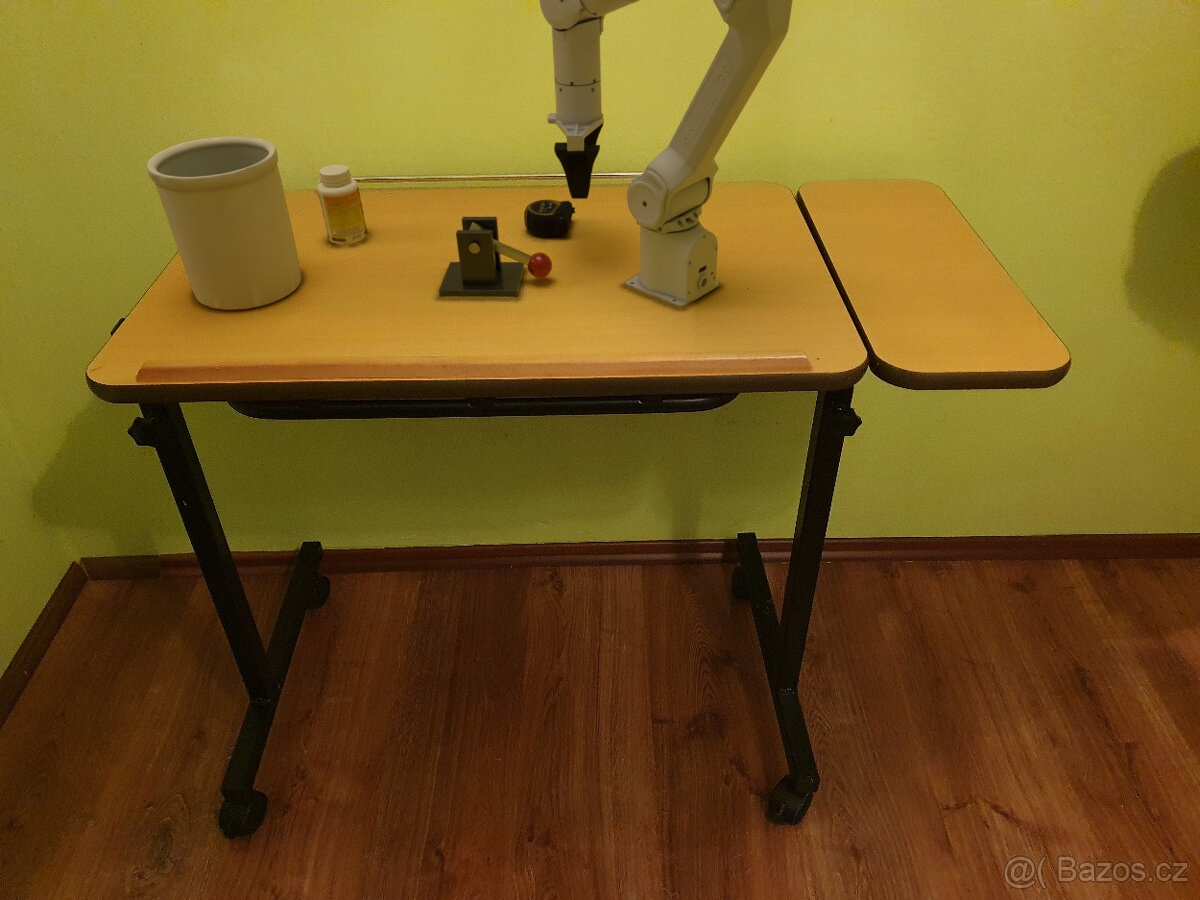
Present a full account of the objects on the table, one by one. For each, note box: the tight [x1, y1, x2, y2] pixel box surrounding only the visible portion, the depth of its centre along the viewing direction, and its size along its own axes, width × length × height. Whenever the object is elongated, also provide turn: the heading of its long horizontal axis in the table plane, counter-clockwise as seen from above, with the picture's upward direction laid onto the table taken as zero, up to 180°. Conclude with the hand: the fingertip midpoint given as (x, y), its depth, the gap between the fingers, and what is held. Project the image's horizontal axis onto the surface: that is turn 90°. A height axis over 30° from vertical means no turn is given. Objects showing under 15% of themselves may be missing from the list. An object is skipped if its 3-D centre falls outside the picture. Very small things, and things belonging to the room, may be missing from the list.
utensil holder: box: [146, 135, 302, 311], centre depth 114 cm, size 15×15×18 cm
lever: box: [469, 222, 553, 279], centre depth 115 cm, size 12×3×3 cm, turn 88°
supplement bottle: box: [317, 163, 368, 246], centre depth 127 cm, size 6×6×10 cm
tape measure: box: [523, 199, 576, 238], centre depth 129 cm, size 7×7×4 cm
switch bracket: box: [438, 216, 525, 298], centre depth 116 cm, size 10×8×8 cm
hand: (581, 186), depth 119 cm, fingers open, 7 cm apart
